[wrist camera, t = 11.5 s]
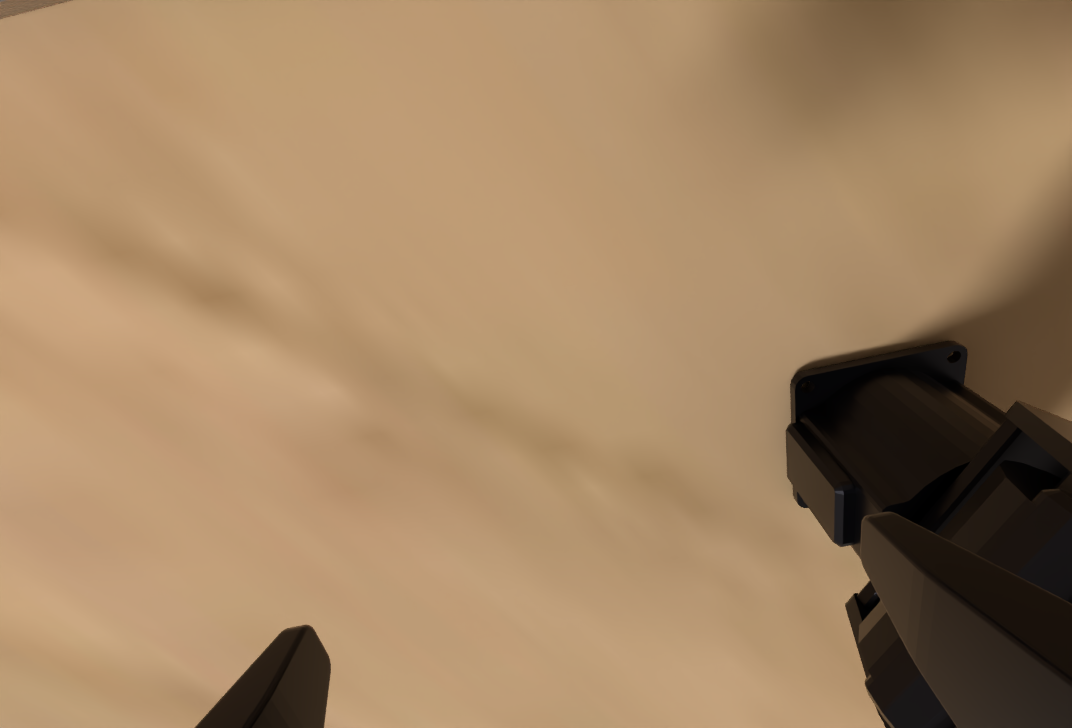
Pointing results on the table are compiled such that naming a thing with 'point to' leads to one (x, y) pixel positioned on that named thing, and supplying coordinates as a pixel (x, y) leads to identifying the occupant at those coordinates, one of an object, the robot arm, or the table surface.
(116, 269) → the table surface
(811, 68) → the table surface
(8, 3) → the stand
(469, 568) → the table surface
